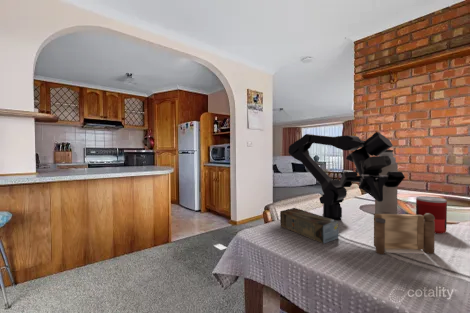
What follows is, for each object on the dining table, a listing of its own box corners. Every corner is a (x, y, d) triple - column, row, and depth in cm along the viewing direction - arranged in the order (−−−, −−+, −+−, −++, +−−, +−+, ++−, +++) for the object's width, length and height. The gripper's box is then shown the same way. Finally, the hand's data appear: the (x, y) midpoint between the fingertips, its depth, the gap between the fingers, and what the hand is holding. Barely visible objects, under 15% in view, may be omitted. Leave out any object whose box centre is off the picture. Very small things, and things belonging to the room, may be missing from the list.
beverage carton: (323, 245, 67) (323, 223, 67) (278, 227, 83) (278, 209, 83) (339, 239, 71) (339, 218, 71) (294, 223, 87) (294, 206, 87)
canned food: (452, 234, 73) (452, 201, 73) (424, 233, 75) (424, 200, 74) (436, 226, 81) (436, 196, 80) (411, 225, 82) (411, 195, 82)
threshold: (386, 252, 61) (386, 250, 61) (380, 248, 64) (380, 246, 64) (424, 253, 60) (424, 252, 60) (417, 249, 63) (417, 247, 63)
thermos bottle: (372, 214, 96) (372, 149, 96) (378, 211, 102) (378, 149, 101) (394, 218, 90) (395, 149, 90) (399, 214, 96) (399, 149, 95)
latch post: (376, 254, 60) (377, 220, 60) (374, 250, 62) (374, 217, 62) (386, 255, 60) (386, 220, 59) (383, 251, 62) (383, 218, 62)
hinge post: (425, 253, 60) (426, 214, 60) (421, 249, 63) (421, 211, 62) (436, 254, 60) (436, 214, 59) (431, 250, 62) (431, 212, 62)
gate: (420, 247, 62) (420, 214, 62) (423, 249, 61) (423, 216, 60) (373, 245, 63) (373, 213, 63) (376, 247, 62) (376, 214, 62)
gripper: (343, 147, 75) (358, 186, 65) (401, 147, 74) (426, 186, 63) (334, 168, 84) (346, 205, 73) (387, 168, 82) (407, 206, 72)
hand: (380, 200), depth 70 cm, fingers closed
